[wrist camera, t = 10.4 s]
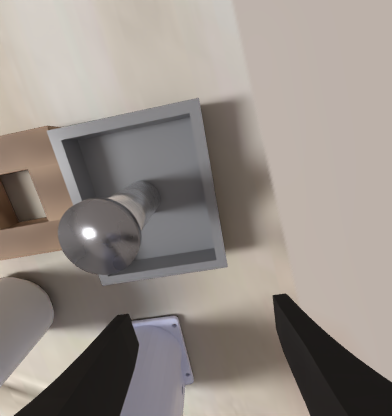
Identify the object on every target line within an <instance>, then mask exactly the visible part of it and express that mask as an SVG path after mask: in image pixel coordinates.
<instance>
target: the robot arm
mask: <svg viewBox="0 0 392 416" xmlns="http://www.w3.org/2000/svg"><path fill="white" fill-rule="evenodd" d="M273 304H274V313H275V322H276V330H277V333H278V336H279V340H280V343H281V346H282V349H283V352H284V354H285V357H286V359H287V361H288V364H289V366H290V368H291V371H292V373H293V375H294V378H295V380H296V382H297V385H298V387H299V389H300V392H301V394H302V396H303V399H304V401H305V403H306V406H307V408H308V410H309V413H310V416H392V382H390V381H389V380H387V379H386V378H384V377H383V376H382V375H380V374H379V373H377V372H376V371H375V370H373V369H372V368H370V367H369V366H367V365H366V364H365V363H364V362H362V361H361V360H359V359H358V358H356V357H355V356H354V355H353V354H352V353H350V352H349V351H348V350H347V349H345V348H344V347H343V346H341V345H340V344H339V343H338V342H337V341H336V340H334V339H333V338H332V337H330V335H328V334H327V333H326V332H325V331H324V330H323V329H322V328H321V327H319V326H318V325H317V324H316V323H315V322H314V321H313V320H312V319H311V318H310V317H309V316H308V315H307V314H306V313H305V312H304V311H303V310H302V309H301V308H300V307H299V306H298V305H297V304H296V303H295V302H294V301H293V300H292V299H291V298H290V297H289V296H288V295H287V294H278V295H273ZM173 324H176V325H173ZM193 382H194V377H193V373H192V369H191V366H190V362H189V358H188V354H187V350H186V346H185V342H184V339H183V335H182V331H181V327H180V323H179V319H178V317H176V316H167V317H160V318H152V319H145V320H137V321H131V319H130V316H129V314H123V315H117V316H116V317H115V318H114V319H113V320H112V321H111V322H110V324H109V325H107V327H106V328H105V329H104V330H103V331H102V332H101V333H100V334H99V336H98V337H97V338H96V339H95V340H94V341H93V342H92V343H91V344H90V345H89V346H88V347H87V349H86V350H85V351H84V352H83V353H82V354H81V355H80V356H79V357H78V358H77V359H76V360H75V361H74V362H73V363H72V364H71V365H70V366H69V367H68V368H67V369H66V370H65V371H64V372H63V373H62V374H61V375H60V376H59V377H58V378H57V379H56V380H55V381H54V382H52V383H51V384H50V385H49V386H48V387H47V388H46V389H45V390H44V391H42V392H41V393H40V394H39V395H38V396H37V397H36V398H35V399H33V400H32V401H31V402H30V403H29V404H27V405H26V406H25V407H24V408H22V409H21V410H20V411H19V412H18V413H16V414H15V415H14V416H183V407H184V393H185V385H187V384H192V383H193Z"/></svg>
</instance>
